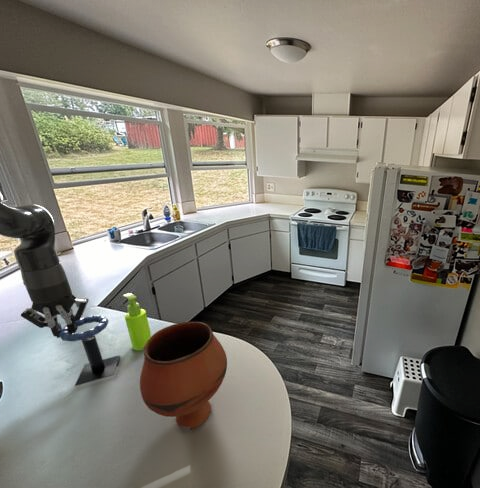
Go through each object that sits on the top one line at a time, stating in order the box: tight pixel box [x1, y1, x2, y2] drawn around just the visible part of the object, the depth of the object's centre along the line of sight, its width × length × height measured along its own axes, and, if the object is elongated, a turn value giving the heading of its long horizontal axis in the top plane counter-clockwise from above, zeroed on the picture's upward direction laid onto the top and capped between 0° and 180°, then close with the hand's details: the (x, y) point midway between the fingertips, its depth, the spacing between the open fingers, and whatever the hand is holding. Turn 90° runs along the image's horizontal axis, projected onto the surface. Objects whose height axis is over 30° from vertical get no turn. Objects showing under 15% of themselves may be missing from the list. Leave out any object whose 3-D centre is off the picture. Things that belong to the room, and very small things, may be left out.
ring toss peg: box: [74, 335, 121, 387], centre depth 77 cm, size 9×9×13 cm
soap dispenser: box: [122, 292, 152, 351], centre depth 87 cm, size 6×7×20 cm
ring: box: [59, 315, 110, 343], centre depth 73 cm, size 10×10×2 cm
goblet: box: [139, 321, 228, 430], centre depth 63 cm, size 19×19×25 cm
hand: (66, 334), depth 72 cm, fingers closed on ring, 2 cm apart
